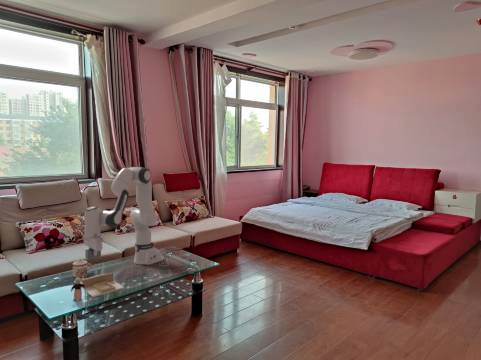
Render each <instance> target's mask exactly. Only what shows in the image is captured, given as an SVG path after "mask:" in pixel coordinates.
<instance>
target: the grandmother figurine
mask: <svg viewBox="0 0 481 360" xmlns="http://www.w3.org/2000/svg"><path fill="white" fill-rule="evenodd" d="M81 279H82V277H75V279H74V281H75V282H76V283H75V282H74V283H75V284H73V286H71V288H70V293H71V292H73V291H74V293H73V299H72V302H76V301H82V300H83V299H82V298H83V297H82V295H83V291H82V290H84V289H86V288H85V285H83V284H81V283H80V282H81ZM81 287H83V288H84V289H83V288H81Z"/></svg>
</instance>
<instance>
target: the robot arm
mask: <svg viewBox="0 0 481 360" xmlns="http://www.w3.org/2000/svg"><path fill="white" fill-rule="evenodd" d="M151 178H152V172H151V170H150V169H149V168H146V167H142V166H141V167H140V166H133V167H132V166H127V167H125V168H124V167H123V168H122V169H121V170H120V171H119V172H118V173H117V174H116V176H115V178H114V179H113V180H112V183H111V185H110V190H111V192H112V193H113V194H114V195H115V196H116V197H117V200H116V204H115V206H114V209H113V210H106V209H102V208H99V207H98V206H89V207H87V208H85V210H84V217H83V218H84V219H83V220H84V225H85V226H84V230H82V236H83V244H84V245H85V246H87V247H88V249H93V250H94V253H93V255H94V256H97V251H100V250H101V251H102V250H103V242H102V241H103V240H102V238H101V237H100V236H101V226H105V227H110V228H114V229H115V228H117V227H118V226H120V224H121V223H122V221H123V215H124V213H125V208H126V205H127V202H128V199H129V189H130V187H131V185H132V183H136V190H135V191H136V193H135V194H136V197H135V201H136V204H137V206H138V208H135V209H132V210H130V211H131V212H130V213H129V218H130V220H131V222H132V224H133V228H134V232H135V244H134V251H135V253H134V260H133V263H134V264H136V265H153V264H155V263H159V262H162V261H165V257H164V256H162V254H161V251H160V250H159V249H158V248H156V245H157V243H155V242H153V241H152V231H151V230H150V228H149V227H153V226H155V224H156V223H157V222H158V216H157V214H156V213H155V211H154V207H153V200H152V199H153V198H152V197H153V195H152V194H153V184H152V180H151ZM154 246H155V247H154Z"/></svg>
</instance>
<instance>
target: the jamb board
mask: <svg viewBox="0 0 481 360" xmlns="http://www.w3.org/2000/svg"><path fill="white" fill-rule="evenodd" d="M73 283H75V284H76V282H75V280H74V281H73ZM80 283H81V284H83V285H85V288H86V289H84V288H83V287H81V289H82V290H84V291H85V292H86V293H88V294H89V295H88V296H90V297H91V298H96V297H99V296H104V295H106V294H110V293H113V292H117V291H121V290H124V289H125V287H124V286H123V285H122V284H120V283H118V282H117V281H115V280H114V272H109V273H99V274H98V275H93V276H90V277H86V278H83V277H81V282H80Z"/></svg>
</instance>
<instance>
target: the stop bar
mask: <svg viewBox="0 0 481 360" xmlns="http://www.w3.org/2000/svg"><path fill="white" fill-rule="evenodd" d="M84 251H85V252H84V253H85V255H84V256H85V259H87V260H92V259H95V258H101V257H102V250H100V251H97V256H94V255H93V253H94V250H93V249H89V248H88V249H85V250H84Z"/></svg>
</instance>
